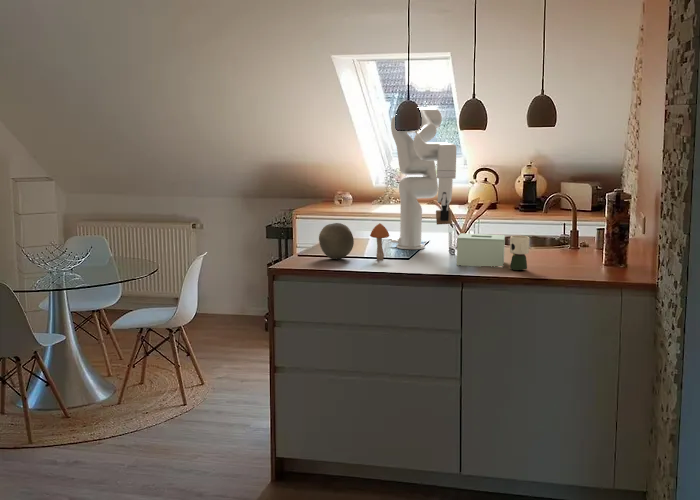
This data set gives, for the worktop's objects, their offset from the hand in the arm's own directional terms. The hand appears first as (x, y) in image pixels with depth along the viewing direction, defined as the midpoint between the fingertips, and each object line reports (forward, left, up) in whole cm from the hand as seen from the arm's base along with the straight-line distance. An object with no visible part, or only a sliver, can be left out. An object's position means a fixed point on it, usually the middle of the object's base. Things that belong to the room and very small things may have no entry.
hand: (444, 219), depth 326 cm
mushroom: (-26, -4, -17) cm, 31 cm away
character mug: (+30, -14, -17) cm, 37 cm away
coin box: (+15, -3, -17) cm, 23 cm away
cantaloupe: (-43, -9, -17) cm, 47 cm away
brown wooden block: (0, 0, -2) cm, 2 cm away
